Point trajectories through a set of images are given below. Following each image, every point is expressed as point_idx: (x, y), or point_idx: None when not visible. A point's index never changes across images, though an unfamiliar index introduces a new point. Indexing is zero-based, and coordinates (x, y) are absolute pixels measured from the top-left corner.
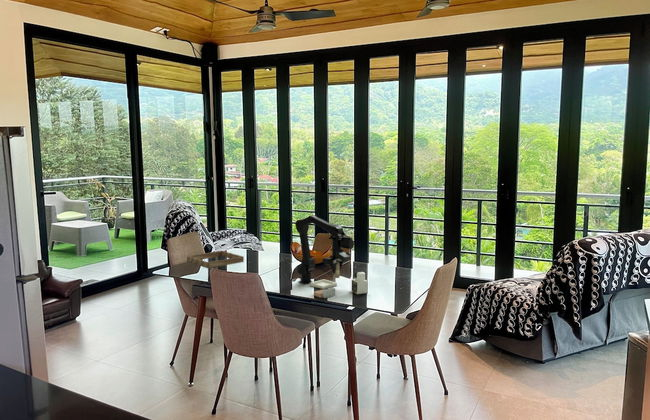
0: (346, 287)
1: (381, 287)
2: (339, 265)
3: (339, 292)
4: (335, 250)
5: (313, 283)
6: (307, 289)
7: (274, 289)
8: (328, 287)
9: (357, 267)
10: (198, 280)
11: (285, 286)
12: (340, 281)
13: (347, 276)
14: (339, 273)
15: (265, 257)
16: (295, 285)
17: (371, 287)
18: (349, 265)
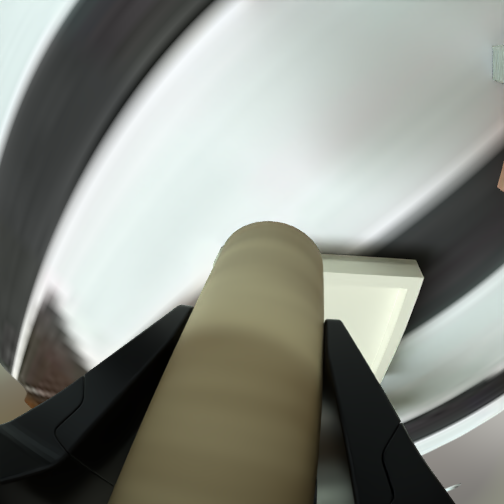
0: (182, 141)
1: (4, 3)
2: (145, 467)
3: (392, 61)
4: None
5: (378, 375)
6: (462, 335)
7: (501, 405)
8: (346, 258)
9: (3, 345)
10: (456, 486)
11: (445, 416)
12: (123, 300)
13: (52, 322)
14: (221, 273)
15: None
16: (410, 410)
17: (34, 24)
18: (23, 372)
